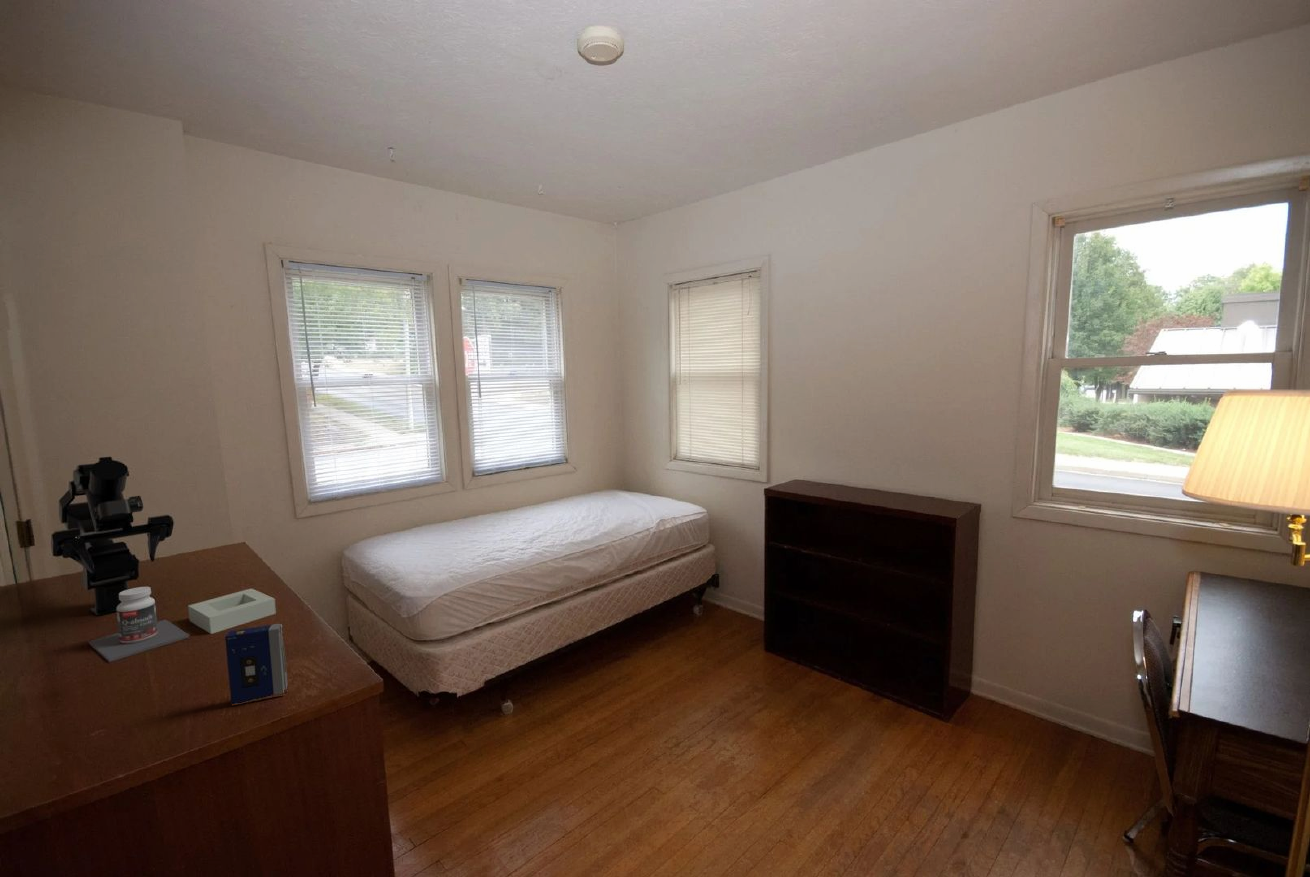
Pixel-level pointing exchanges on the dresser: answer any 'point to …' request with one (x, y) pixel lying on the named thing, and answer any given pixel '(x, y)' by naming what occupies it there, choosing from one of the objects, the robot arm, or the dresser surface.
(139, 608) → the pill bottle
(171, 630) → the charcoal mat
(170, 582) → the dresser surface
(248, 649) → the cassette player
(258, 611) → the socket block
